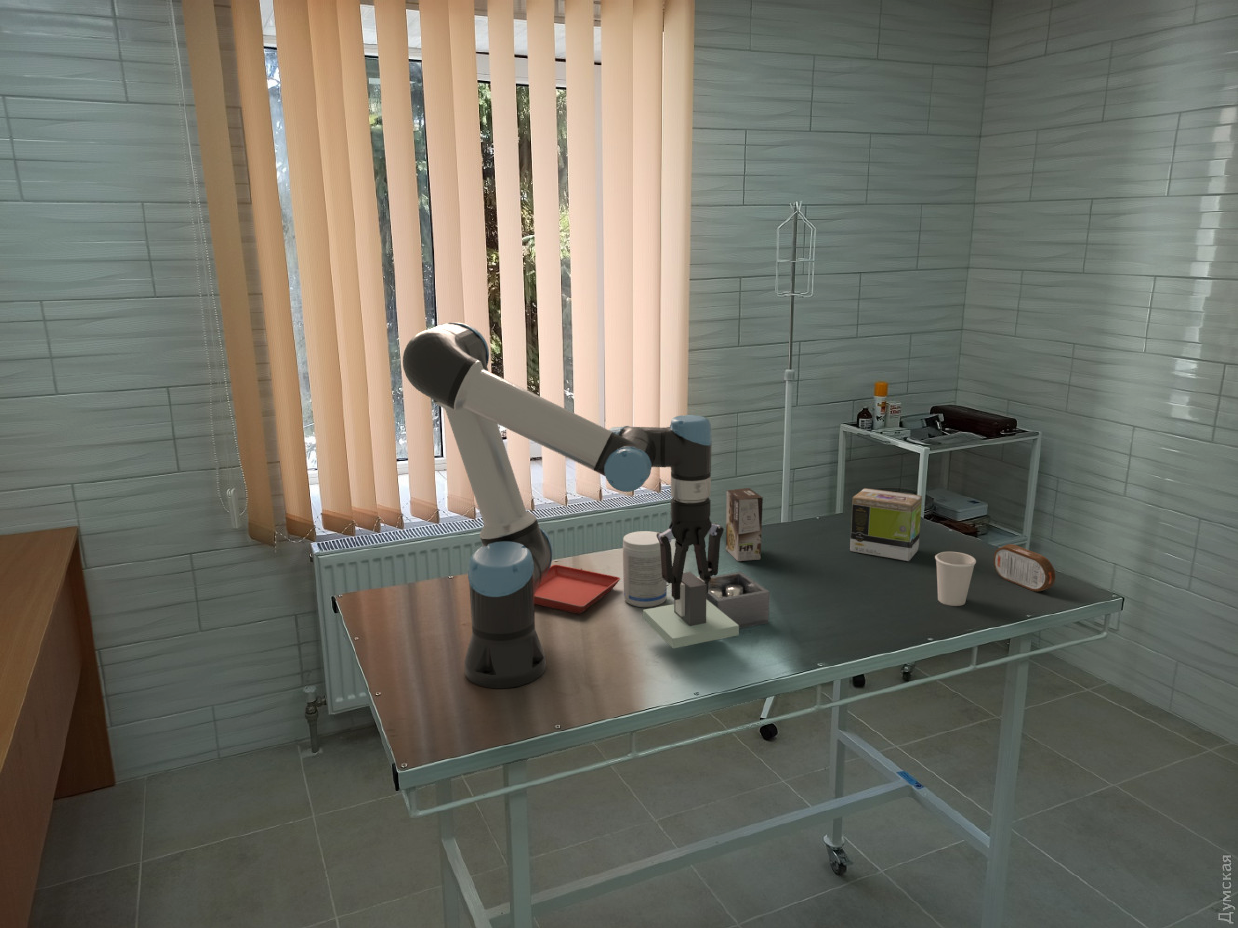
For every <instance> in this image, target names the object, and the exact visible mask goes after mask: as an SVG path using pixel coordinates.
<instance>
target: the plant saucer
mask: <svg viewBox="0 0 1238 928" xmlns="http://www.w3.org/2000/svg"><path fill="white" fill-rule="evenodd" d="M620 580H621V578H620V577H618V576H615V575H611V574H604V573H600V572H595V571H590V570H587V569H586V570H585V569H580V568H577V567H571V566H566V565H560V564H553V565H552V564H551V566H550V569H549V571H548V572H547V574H546V576H545V577H544V579H543V580H542V582H541V584H540V585H539V587H538V589H537V591H536V592H535V595H534V605H538V606H540V607H541V606H543V607H546V608H551V609H556V610H560V611H564V612H569V613H573V614H582V613H583V612H585V611H586V610H587V609H589V608H590V607H591V606H592V605H594V604H595V603H597V602H598V601H599V600H600V599H601V598H603V597H605V595H607V594H608V593H609V592H611V591H612V590H613V589H614V588H615V587H616V586H617V585H618V582H620Z"/></svg>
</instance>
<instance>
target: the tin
mask: <svg viewBox="0 0 1238 928" xmlns="http://www.w3.org/2000/svg"><path fill="white" fill-rule="evenodd" d="M993 566H994V568H995V569H994V570H995V571H996V573H997V574H998V575H999V576H1000V577H1001V579H1004V580H1005V581H1008V582H1010V583H1013V584H1014V585H1015V584H1016V585H1018V586H1020V587H1023V588H1024V589H1027V590H1029V591H1031V592H1042V591H1045V590H1048V589H1051V588H1052V587H1053V586H1054V584H1055V582H1056V581H1055V580H1056V571H1055V569H1054V566H1053V563H1051V561H1050V560H1049V559H1048V558H1047V557H1045V556H1044V555H1042V554H1039V553H1038V552H1034V551H1032V550H1029V549H1027V548H1024V547H1021V546H1018V545H1016V544H1014V543H1008V544H1005V545H1003V546H1001V547H999V548H997V549H996V550H995V552H994V554H993Z"/></svg>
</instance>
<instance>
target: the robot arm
mask: <svg viewBox="0 0 1238 928" xmlns="http://www.w3.org/2000/svg"><path fill="white" fill-rule="evenodd" d="M489 359H490V349H489V346H488V343H487V341H486V339H485V337H484V336H483V334H482V333H481V332H480V331H478V329H476V328H475V327H473V326H471V325H469V324H466V323H464V322H448V323H441V324H439V325H437V326H435V327H433V328H429V329H426V330H423V331H420V332H419V333H417V334H416V335H415V336H413V337H412V338H411V339H410V340H409V341H408V343H407V345H406V347H405V349H404V351H403V354H402V368H403V371H404V374H405V375H404V376H406V377H405V378H406V379H407V381H408V382H409V384H411V385H412V386H413V387H414V389H416V390H417V391H418V392H420V393H421V394H423V395H425V396H426V397H428V398H430V399H432V400H433V402H434V405H437V406H439V408H440V407H441V408H443V409H444V411H445V413H446V416H447V418H448V422H449V425H450V427H451V431H452V433H453V437H454V440H455V442H456V446H457V448H458V451H459V454H460V458H461V460H462V464H463V467H464V468H465V472H466V474H467V478H468V481H469V484H470V487H471V490H472V492H473V493H472V494H473V496H474V498H475V501H476V505H477V507H478V510H479V513H480V516H481V518H482V519H481V520H482V522H483V526H482V529H481V530H480V532H479V538H480V540H481V543H482V546H480V547H479V548H478V549H476V550H475V551H474V552H473V553H472V555H471V556H470V558H469V562H468V570H467V575H468V576H467V579H468V582H469V584H468V585H469V598H470V601H469V602H470V615H471V616H470V617H471V630H472V631H471V637H470V641H469V643H468V647H467V650H466V654H465V658H464V674H465V677H466V678H467V679H468V680H469V682H471V683H473V684H475V685H477V686H481V687H484V688H489V689H510V688H515V687H517V688H518V687H520V686H524V685H528V684H529V683H532V682H534V681H535V680H537V679H538V678H539V679H540V677H541V676H542V675H543V674H544V672H545V671H546V668H547V667H546V666H547V665H546V653H545V651H544V648H543V646H542V643H541V641H540V637H539V635H538V633H537V630H536V624H535V621H536V620H535V619H536V618H535V617H536V616H535V604H534V595H535V592H536V591H537V589H538V587H539V585H540V584H541V582H542V580H543V579H544V577H545V576H546V574H547V572H548V571H549V569H550V567H551V566H552V562H553V555H554V548H553V544H552V541H551V539H550V537H549V535H548V533H546V531H545V530H544V529H543V528H541V527H540V525H539V521H538V518H537V517H536V515H535V514H534V513H532V512H529V511H527V509H526V506H525V505H524V500H523V498H522V495H521V492H520V489H519V486H518V483H517V479H516V477H515V473H514V470H513V468H512V464H511V460H510V459H509V455H508V451H507V449H506V446H505V443H504V440H503V436H502V434H501V430H500V427H499V426H501V427H502V428H505V429H507V430H509V431H511V432H512V433H514V434H518V435H520V436H522V437H523V438H526V439H528V440H530V441H531V442H534V443H537V444H538V445H540V446H543V447H544V448H547V449H548V450H550V451H553V452H555V453H556V454H559V455H561V456H562V457H565V458H567V459H569V460H571V461H573V462H575V463H577V464H579V465H582V466H583V467H585V468H588V469H590V470H591V471H594V472H596V473H597V474H600V475H602V476H603V477H605V479H606V481H607V482H608V484H609V486H611V487H612V488H613V489H615V490H616V491H619V492H623V493H629V492H630V493H631V492H634V491H636V490H638V489H640V488H641V487H643V485H644V484H645V483H646V481H647V480H648V479H649V477H650V476H651V472H652V468H670V496H671V497H672V498H671V500H670V519H671V520H670V524H669V526H668V529H666V530H665V531H663V532H661V531H659V532H657V538H658V540H659V543H660V552H661V568H662V578H663V579H664V580H665V581H666V582H667V583H668V584H671V597H672V598H673V599H675V611H676V612H677V613H678V614H679V615H680V616H681V617H682V616H685V584H683V583H682V576H683V573H684V570H685V564H686V557H687V553H688V552H689V549H690V546H692V545H693V548H694V553H695V554H694V555H695V561H696V567H697V574H698V576H696V577H697V578H699V579H700V580H701V581H703V582H704V583H705V584H706V585H707V592H706V594H708V582H709V581H710V580H711V577H712V576H718V573H719V563H720V550H721V548H720V547H721V538H722V536H723V533H724V531H725V529H724V527H723V526H722V525H719V524H718V523H712V521H711V519H710V517H711V498H710V497H711V493H712V492H711V487H712V486H711V481H712V442H713V441H712V424H711V422H710V420H709V419H708V418H707V417H706V416H705V417H704V416H702V415H697V414H686V415H676V416H675V417H673V418H671V420H670V425H669V426H666V427H665V426H664V427H663V426H662V427H657V426H656V427H653V426H651V427H650V426H649V427H648V426H629V425H623V426H614V427H610V428H609V429H608V428H605V427H603V426H601V425H599V424H598V423H595V422H593V421H591V420H589V419H587V418H585V417H582V416H581V415H579V414H577V413H574V412H572V411H570V410H569V409H566V408H564V407H562V406H561V405H558V404H556V403H554V402H552V401H549V400H548V399H545V398H544V397H543V396H539V395H538V394H536V393H534V392H532V391H530V390H528V389H525V388H524V387H521V386H519V385H517V384H515V383H513V382H512V381H509V380H507V379H505V378H503V377H501V376H498V375H496V374H494V373H492V372H490V371H489V367H488V364H489V361H490V360H489ZM708 533H709V535H708ZM707 535H708V542H707V543H708V544H707V546H708V547H707V546H706V540H705V539H706V537H707ZM672 536H673V538H674V539H675V541H674V547H675V550H674V555H673V558H672V545H671V543H672ZM706 547H707V552H706Z"/></svg>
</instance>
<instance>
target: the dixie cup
mask: <svg viewBox="0 0 1238 928" xmlns="http://www.w3.org/2000/svg"><path fill="white" fill-rule="evenodd" d="M934 559H935V563H936V581H937V583H936V585H937V587H936V588H937V601H939V602H940V603H941V604H943V605H946V606H951V607H958V606H959V607H960V606H963V605H965V604H966V600H967V596H968V593H969V588H970V584H971V579H972V576H973V572H974V567H975V565H976V563H977V560H976V558H975V557H974V556H972V555H970V554H967V553H964V552H957V551H942V552H939V553H937V554H935V556H934Z"/></svg>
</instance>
